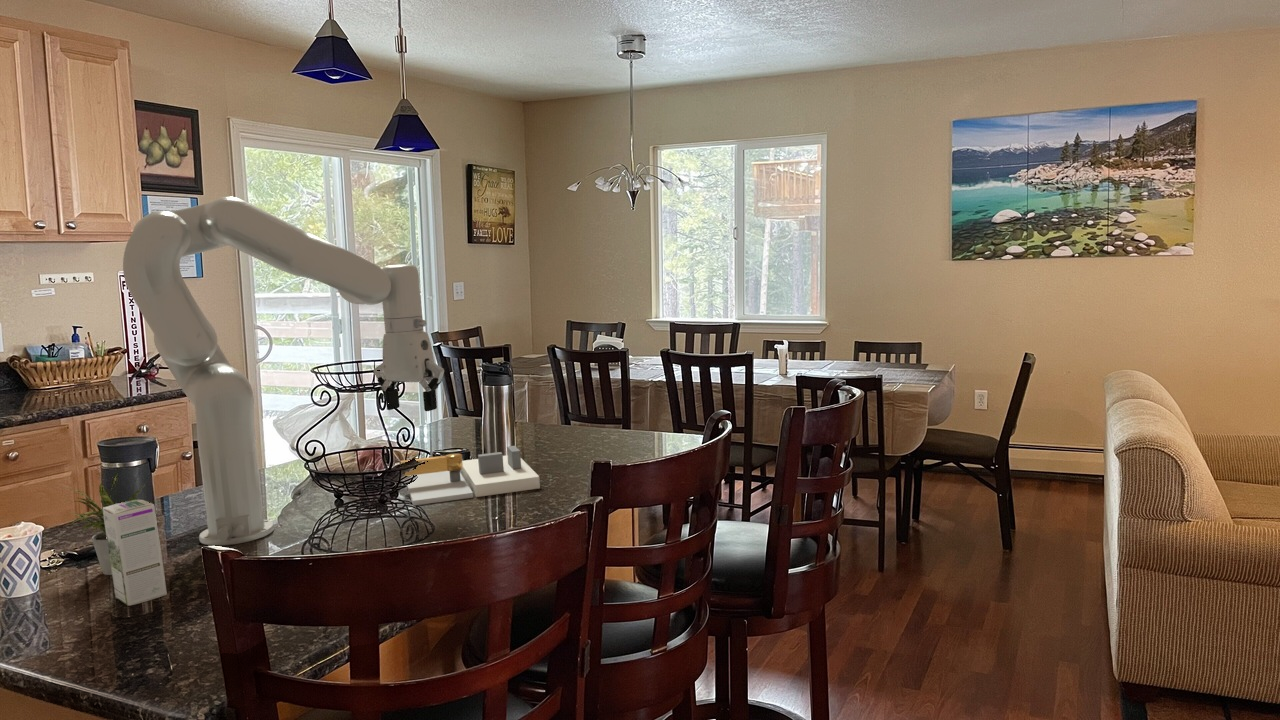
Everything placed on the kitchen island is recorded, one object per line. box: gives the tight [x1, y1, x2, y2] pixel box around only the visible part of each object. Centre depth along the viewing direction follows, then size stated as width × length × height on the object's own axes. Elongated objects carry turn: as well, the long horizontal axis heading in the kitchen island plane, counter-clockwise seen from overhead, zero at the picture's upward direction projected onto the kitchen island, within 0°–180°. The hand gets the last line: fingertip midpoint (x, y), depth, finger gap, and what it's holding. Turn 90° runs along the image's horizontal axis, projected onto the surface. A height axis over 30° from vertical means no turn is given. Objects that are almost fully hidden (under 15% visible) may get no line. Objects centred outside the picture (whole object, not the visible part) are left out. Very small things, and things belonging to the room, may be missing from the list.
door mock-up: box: [406, 445, 541, 506], centre depth 192 cm, size 24×26×6 cm
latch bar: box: [400, 453, 463, 477], centre depth 190 cm, size 13×4×3 cm, turn 109°
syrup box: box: [102, 498, 168, 606], centre depth 134 cm, size 6×6×14 cm
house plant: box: [63, 473, 149, 576], centre depth 147 cm, size 14×14×16 cm
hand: (411, 409), depth 180 cm, fingers open, 9 cm apart
